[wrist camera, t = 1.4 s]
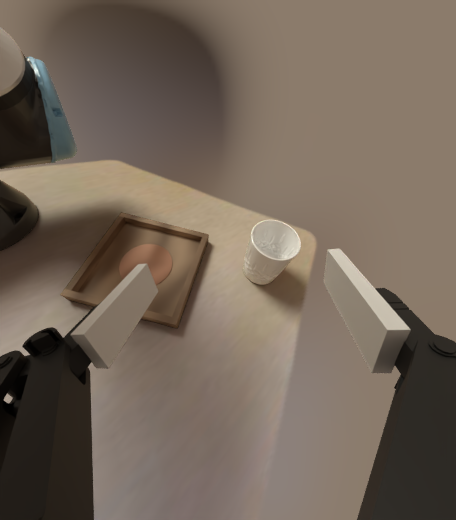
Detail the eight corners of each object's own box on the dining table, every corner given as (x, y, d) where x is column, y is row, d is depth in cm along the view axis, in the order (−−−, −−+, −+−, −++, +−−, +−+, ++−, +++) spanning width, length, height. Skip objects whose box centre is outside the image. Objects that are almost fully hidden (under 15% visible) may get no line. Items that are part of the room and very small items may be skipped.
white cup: (255, 295, 36) (273, 268, 27) (232, 262, 39) (241, 229, 30) (286, 276, 38) (311, 247, 30) (262, 247, 41) (278, 213, 33)
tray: (69, 300, 31) (60, 294, 29) (125, 220, 41) (121, 212, 39) (177, 328, 31) (176, 325, 29) (208, 241, 40) (208, 234, 39)
